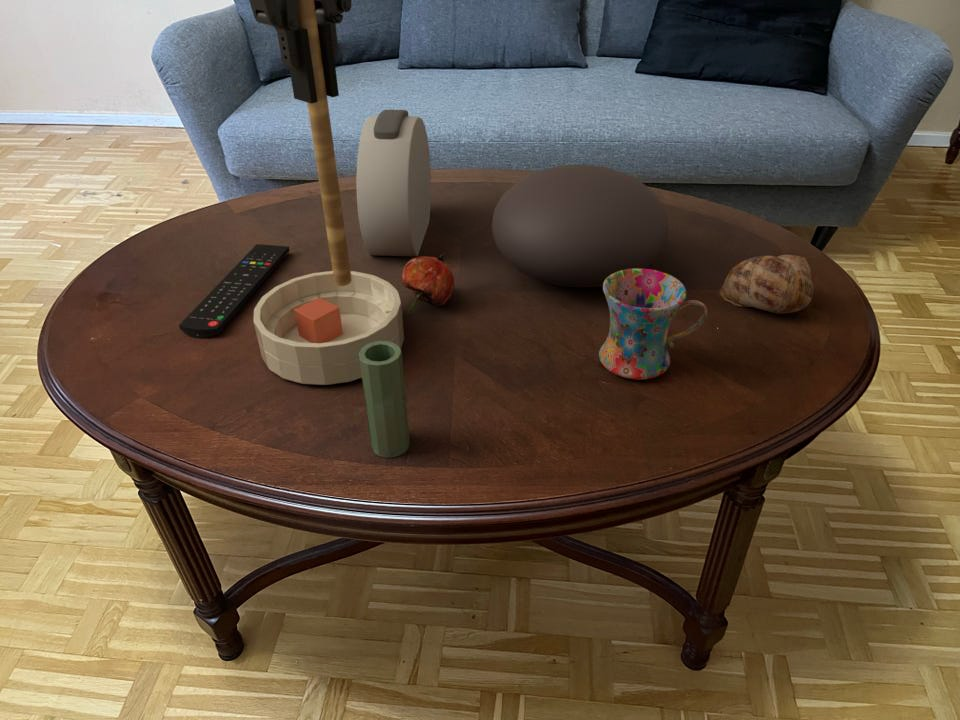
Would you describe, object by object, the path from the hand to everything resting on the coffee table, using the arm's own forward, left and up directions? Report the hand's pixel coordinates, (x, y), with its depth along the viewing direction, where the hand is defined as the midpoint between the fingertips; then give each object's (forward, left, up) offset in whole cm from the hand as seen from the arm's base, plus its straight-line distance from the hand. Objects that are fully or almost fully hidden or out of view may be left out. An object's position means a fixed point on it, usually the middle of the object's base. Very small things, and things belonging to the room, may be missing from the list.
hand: (316, 96), depth 71 cm
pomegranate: (+15, +1, -32) cm, 35 cm away
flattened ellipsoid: (+36, -9, -32) cm, 49 cm away
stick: (0, 0, -21) cm, 21 cm away
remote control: (0, +24, -32) cm, 40 cm away
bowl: (0, +3, -31) cm, 32 cm away
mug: (+22, -29, -32) cm, 48 cm away
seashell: (+45, -34, -32) cm, 64 cm away
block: (0, +6, -31) cm, 31 cm away
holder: (-8, -16, -31) cm, 36 cm away
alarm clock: (+27, +19, -32) cm, 46 cm away
